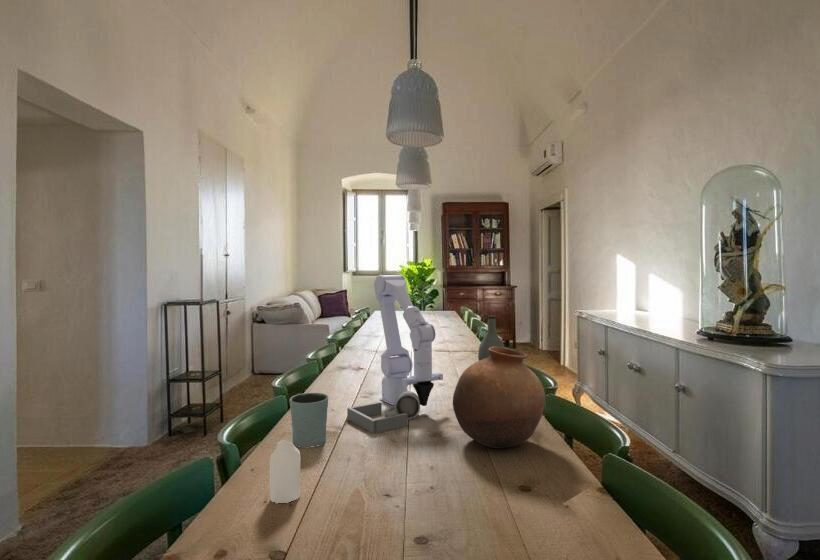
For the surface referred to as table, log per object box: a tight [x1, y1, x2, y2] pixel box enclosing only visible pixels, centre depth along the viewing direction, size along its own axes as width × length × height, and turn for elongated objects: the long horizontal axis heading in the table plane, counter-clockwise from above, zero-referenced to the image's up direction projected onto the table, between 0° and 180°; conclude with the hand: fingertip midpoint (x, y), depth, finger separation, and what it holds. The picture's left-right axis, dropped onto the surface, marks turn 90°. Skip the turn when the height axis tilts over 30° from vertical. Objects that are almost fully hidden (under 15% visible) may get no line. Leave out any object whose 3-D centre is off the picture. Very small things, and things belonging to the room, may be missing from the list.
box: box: [346, 401, 409, 434], centre depth 144 cm, size 16×12×4 cm
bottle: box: [477, 314, 506, 361], centre depth 160 cm, size 9×9×30 cm
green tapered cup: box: [289, 392, 329, 448], centre depth 128 cm, size 10×10×12 cm
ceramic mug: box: [385, 390, 421, 421], centre depth 150 cm, size 11×8×8 cm
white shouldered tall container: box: [269, 439, 302, 504], centre depth 97 cm, size 6×12×6 cm
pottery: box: [452, 347, 546, 449], centre depth 125 cm, size 23×23×25 cm
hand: (423, 405), depth 153 cm, fingers closed
